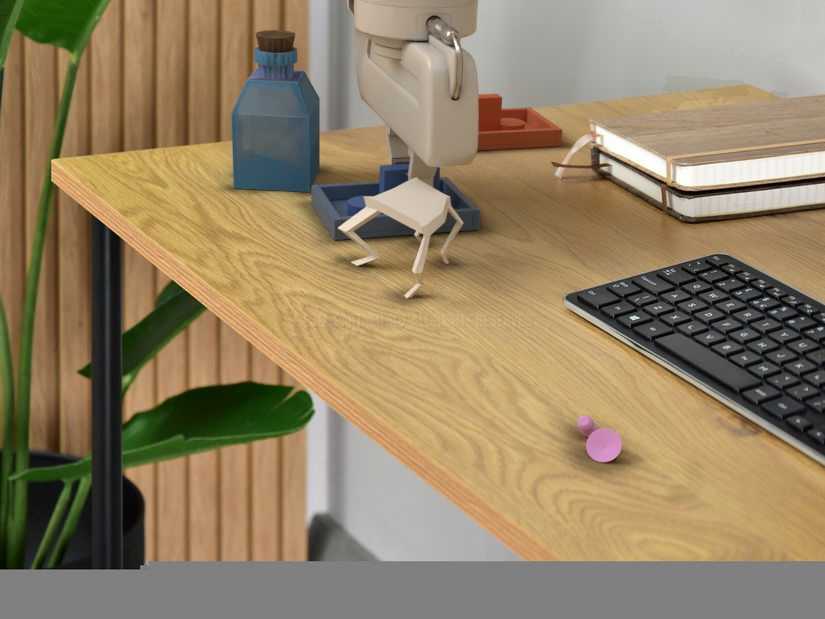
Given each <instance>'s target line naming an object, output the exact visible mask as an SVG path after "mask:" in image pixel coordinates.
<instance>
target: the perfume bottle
mask: <svg viewBox="0 0 825 619" xmlns="http://www.w3.org/2000/svg"><path fill="white" fill-rule="evenodd" d="M255 38H256V43H257V46H256V47H254V49H253V55H254V56H253V57H254V58H253V60H254V61H253V62H254V63H256V64H257V68H255V70H254V71H253V72H252V73H251V75H250V76H249V77H248V78H247V79H246V81H245V83H244V85H243V87H242V89H241V92H240V93H239V96H238V98H237V100H236V103H235V105H234V107H233V108H232V111H231V114H230V116H231V119H230V120H231V144H232V145H231V147H232V148H231V149H232V150H231V151H232V176H233V178H232V181H233V189H240V190H261V191H279V192H281V191H282V192H301V193H311V186H312V185H314V183H315V181H316V179H317V176H318V174H319V172H320V168H321V166H320V165H321V164H320V162H321V161H320V160H321V157H320V155H321V154H320V150H321V147H320V145H321V143H320V142H321V140H320V139H321V138H320V137H321V136H320V135H321V134H320V132H321V131H320V128H321V127H320V125H321V123H320V116H321V115H320V112H321V108H320V104H321V103H320V102H321V101H320V100H321V99H320V96H319V94H318V93H317V91H316V89H315V88H314V86H313V83H312V82H311V81H310V80H311V79H309V77H308V75H307V74H306V71H305V70H295V65H294V64H297V63H298V48H296V47H295V46H294V43H295V39H296V33H295V32H293V31H290V30H283V29H269V30H268V29H267V30H260V31H256V32H255Z"/></svg>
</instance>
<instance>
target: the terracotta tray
mask: <svg viewBox="0 0 825 619" xmlns="http://www.w3.org/2000/svg"><path fill="white" fill-rule="evenodd" d="M502 118H514V119H519V120H522V121H524V122H525V130H506V131H486V132H478V149H477V151H492V150H509V149H510V150H511V149H513V150H514V149H531V148H549V147H562V139H563V129H562V128H561V127H560V126H558V125H556V124H555V123H554V122H552V120H551V121H550V119H548V118H547V117H545V116H544V115H542V114H541V113H539V112H538V111H536V110H535V109H533V107H527V106H526V107H509V108H507V107H506V108H502V110H501V119H502Z"/></svg>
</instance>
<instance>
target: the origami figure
mask: <svg viewBox="0 0 825 619" xmlns="http://www.w3.org/2000/svg"><path fill="white" fill-rule="evenodd" d="M364 200H365V204H366V207H365V208H364V209H362V210H361V211H360V212H358V213H357V214H356V215H354V216H353V217H351V218H350V219H349V220H347V221H346V222H345V223H343V224H342V225H341V226H339V227H338V229H339V230H341V231H342V232H343V233H344V234H346V235H347V236H348V237H349V238H351V239H350V240H351V241H353V242H355V243H356V245H358V246H359V247H360V248H362V249H363V250H364V251H365V252H367V253H368V254H369V256H366V257H363V258H360V259H359V258H358V259H356V260H353V261H350V263H351V264H353V265H354V266H356V267H358V266H363V265H366V264H368V263H371V262H373V261H376V260H379V259H381V256H380V255H378V253H376V251H374V249H372V248H371V247H370V246H369V245H368V244H367V243H366V242H365V241H364V240H363V238H360V237H359V236H358V235H357V234H356V233H355V232H354V230H356V229H357V228H359V227H360V226H362V225H363V224H365V223H367V222H368V221H370V220H371V219H373V218H374V217H376V216H377V215H379V214H381V213H384V214H386V215H388V216H389V217H391V218H393V219H395V220H397V221H399V222H401V223H403V224H405V225H407V226H408V227H410V228H412V229H414V230H416V232H415V234H413V236H414V237H415V239H416V240H417V241H418V242H419V243H420V245H419V248H418V251H417V254H416V257H415V259H414V263H413V265H412V268H411V271H412V273H413V276H414V278H415V280H416V284H415V285H414V286H412V288H410V289H408V291H407V292H406V293H405V294H404V295H403V297H405V299H410V298H413V296H415V294H416V293H417V292H418V291H419V290H420V289H421V288H422V287H423V286H424V278H423V269H424V266H425V263H426V259H427V255H428V251H429V244H430V239H431V235H433V234H435V233H434V232H435V231H436V230H437V229H438V228H439V227H440V226H441V225H442V224H443V223H445V220H446V216H447V211H448V212H449V213H450V214H451V215H452V216H453V217H454V219H455V220H456V221H457V222H456V223H455V225H454V227H453V229H452V231H451V232H449V235H448V237H447V238H446V240H445V243H444V244H443V246H442V248H441V250H440V253H439V254H440V257H441V259H442V261H443V262H444V264H446V265H448V264H450V262H449V260H448V258H447V256H446V255H445V253H446V251H447V250H448V248H449V247H450V245H451V244H452V242H453V240H454V239H455V238H456V236H457V235H458V233H459V232H460V231H459V230H460V228H461V227H462V225H463V224H464V223H463V221H462V220H461V218H460V217H459V216H458V214H457V213H456V212H455V210H454V209H453V208H452V206H451V201H450V196H447V195H445V194H443V193H441V192H440V191H438V190H436V189H435V188H433V187H431V186H429V185H428V184H426V183H424V182H422V181H421V180H419V179H418V178H417V177H416V178H413V179H411V180H409V181H407V182H405V183H403V184H401V185H399V186H397V187H395V188H393V189H391V190H388V191H386V192H383V193H381V194H379V195H376V196H371V197H364ZM421 233H422V234H421ZM420 235H422V237H421V236H420Z"/></svg>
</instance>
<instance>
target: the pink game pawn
mask: <svg viewBox="0 0 825 619" xmlns="http://www.w3.org/2000/svg"><path fill="white" fill-rule="evenodd" d="M576 425H577V428H578V429H579V431H580V433H581V434H582V436H584V437H585V438H586V437H587V439H586V444H585V449H586V452H587V455H588V456H589V457H590V458H591V459H592V460H594V461H596V462H599V463H608V462H611V461H613V460H614V459H615V458H617V457H618V456H619V455H620V453H621V451H622V446H623V443H622V442H623V441H622V438H621V436H620V434H619V433H618V432H617V431H616V430H614V429H612V428H608V427H602V428H598V429H597V425H596V423H595V421H594V418H592V416H591V415H587V414H585V415H581V416H580V417H579V418H578V419H577V421H576Z"/></svg>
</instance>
